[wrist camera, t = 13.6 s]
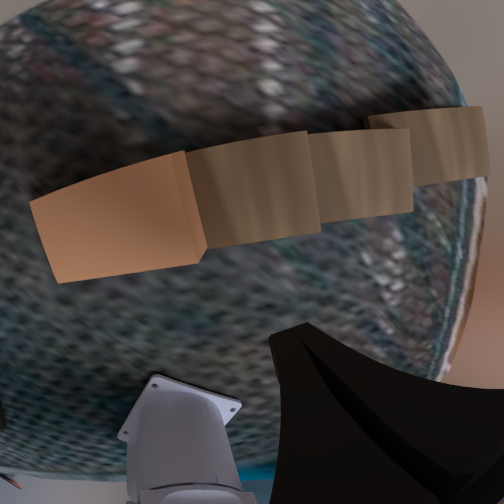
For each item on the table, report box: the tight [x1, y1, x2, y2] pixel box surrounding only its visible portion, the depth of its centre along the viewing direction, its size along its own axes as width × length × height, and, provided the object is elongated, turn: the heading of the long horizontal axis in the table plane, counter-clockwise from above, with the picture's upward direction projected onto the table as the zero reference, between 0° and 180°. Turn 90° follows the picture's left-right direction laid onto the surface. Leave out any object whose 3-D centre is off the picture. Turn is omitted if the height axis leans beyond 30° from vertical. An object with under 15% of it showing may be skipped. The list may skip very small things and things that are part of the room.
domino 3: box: [307, 128, 413, 223], centre depth 17 cm, size 2×5×9 cm
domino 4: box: [362, 107, 490, 187], centre depth 17 cm, size 2×5×9 cm
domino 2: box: [185, 130, 321, 250], centre depth 15 cm, size 2×5×9 cm
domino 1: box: [29, 150, 207, 283], centre depth 14 cm, size 2×5×9 cm
